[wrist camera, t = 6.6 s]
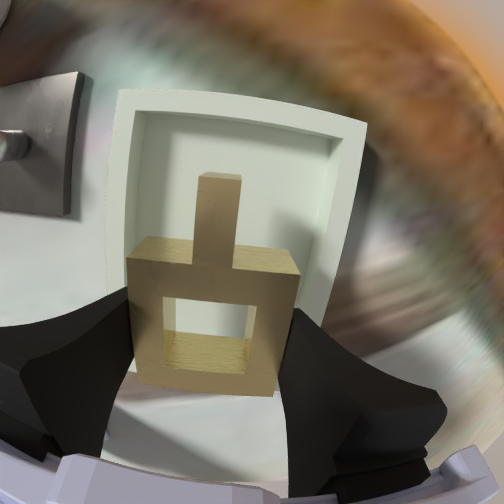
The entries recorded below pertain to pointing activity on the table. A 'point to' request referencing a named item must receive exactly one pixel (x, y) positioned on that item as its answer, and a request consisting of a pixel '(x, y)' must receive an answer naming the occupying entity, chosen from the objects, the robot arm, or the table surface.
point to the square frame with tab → (211, 290)
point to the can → (4, 10)
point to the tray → (252, 188)
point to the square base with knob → (38, 143)
